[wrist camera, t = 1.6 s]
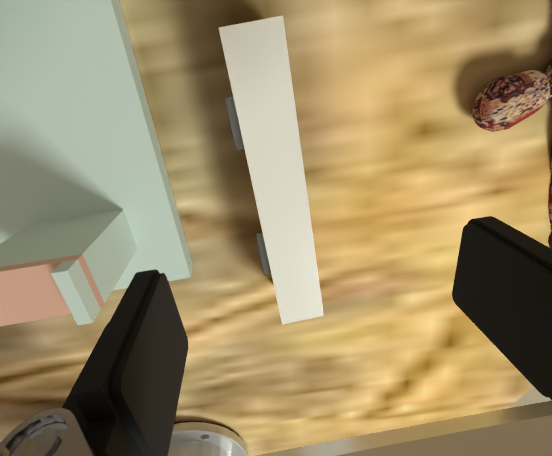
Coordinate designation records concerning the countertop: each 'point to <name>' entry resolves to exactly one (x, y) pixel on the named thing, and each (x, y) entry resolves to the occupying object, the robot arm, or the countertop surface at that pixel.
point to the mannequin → (513, 104)
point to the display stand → (77, 164)
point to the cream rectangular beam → (273, 160)
